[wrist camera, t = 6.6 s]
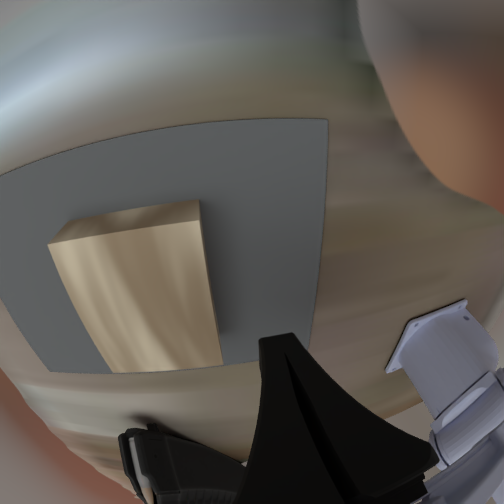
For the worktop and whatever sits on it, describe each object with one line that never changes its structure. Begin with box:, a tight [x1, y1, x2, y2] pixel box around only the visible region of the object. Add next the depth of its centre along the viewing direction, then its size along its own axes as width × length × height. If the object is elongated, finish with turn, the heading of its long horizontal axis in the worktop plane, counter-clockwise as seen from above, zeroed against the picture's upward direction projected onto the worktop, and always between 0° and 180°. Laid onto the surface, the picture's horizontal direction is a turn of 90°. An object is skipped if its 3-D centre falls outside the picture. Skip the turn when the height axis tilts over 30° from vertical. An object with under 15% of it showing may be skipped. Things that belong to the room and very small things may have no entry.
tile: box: [47, 199, 224, 373], centre depth 13 cm, size 2×9×7 cm
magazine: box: [118, 423, 246, 504], centre depth 25 cm, size 17×3×30 cm
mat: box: [0, 118, 328, 374], centre depth 14 cm, size 22×16×1 cm
